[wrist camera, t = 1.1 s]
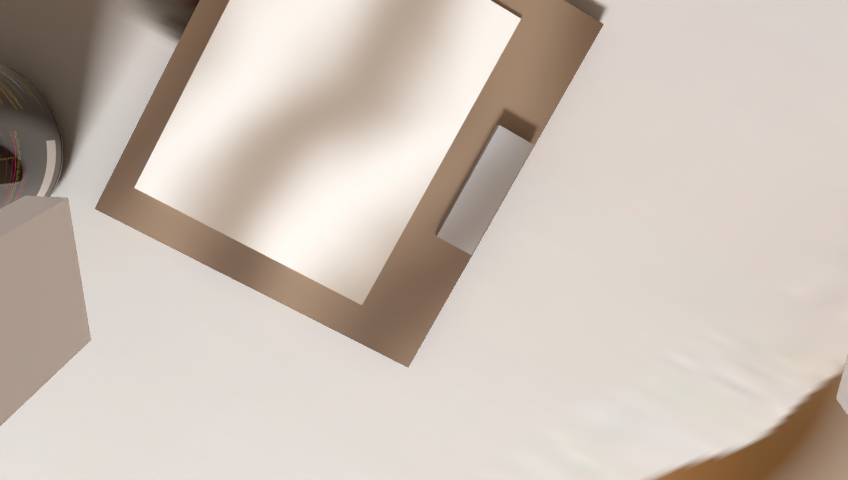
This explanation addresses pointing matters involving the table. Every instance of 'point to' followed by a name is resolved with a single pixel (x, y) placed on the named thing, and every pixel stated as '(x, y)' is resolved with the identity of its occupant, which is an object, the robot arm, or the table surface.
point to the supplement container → (27, 140)
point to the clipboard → (346, 147)
